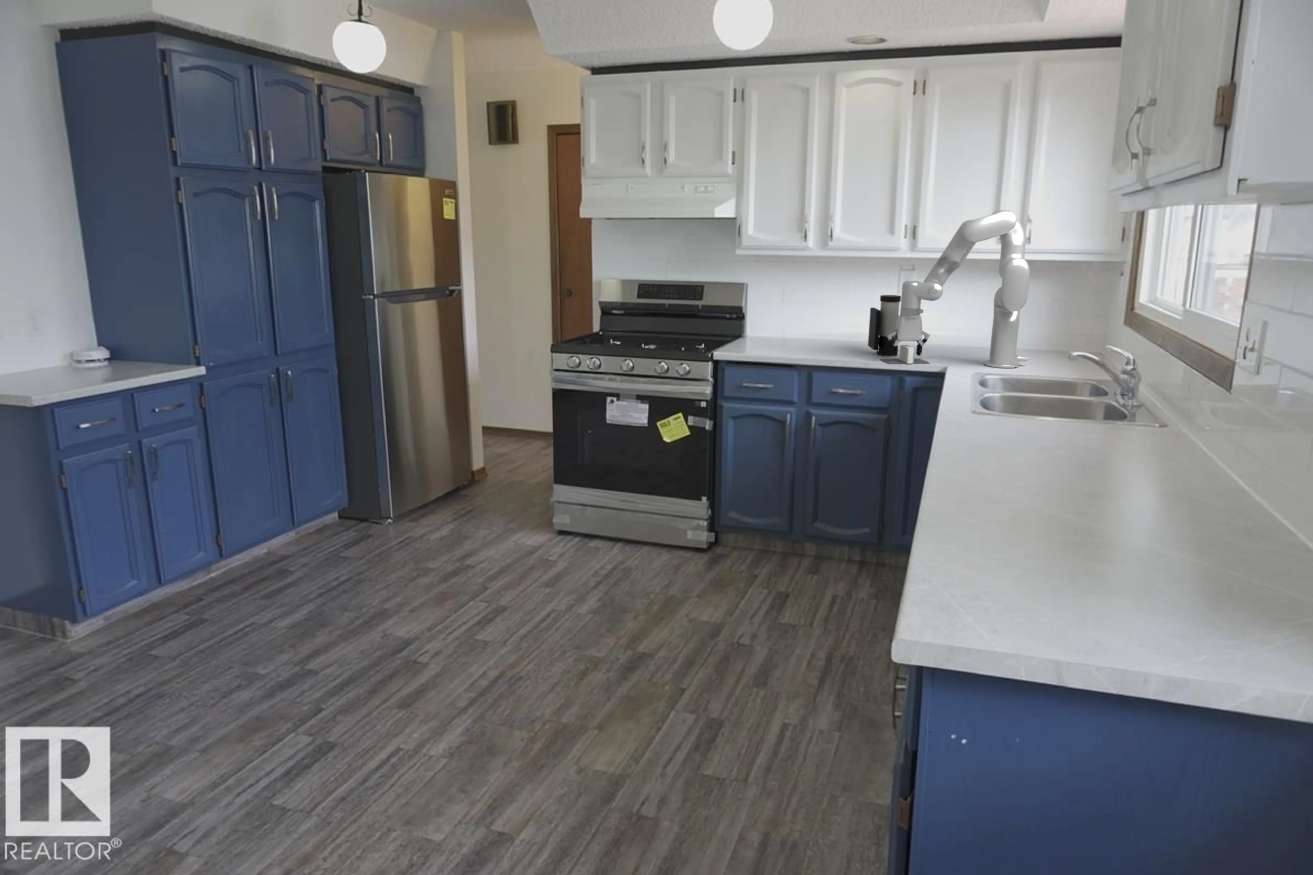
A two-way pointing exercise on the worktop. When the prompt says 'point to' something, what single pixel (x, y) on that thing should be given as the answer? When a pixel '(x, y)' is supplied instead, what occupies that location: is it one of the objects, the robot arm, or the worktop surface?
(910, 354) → the deck
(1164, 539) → the worktop surface
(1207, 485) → the worktop surface
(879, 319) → the light fixture
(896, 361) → the mat
